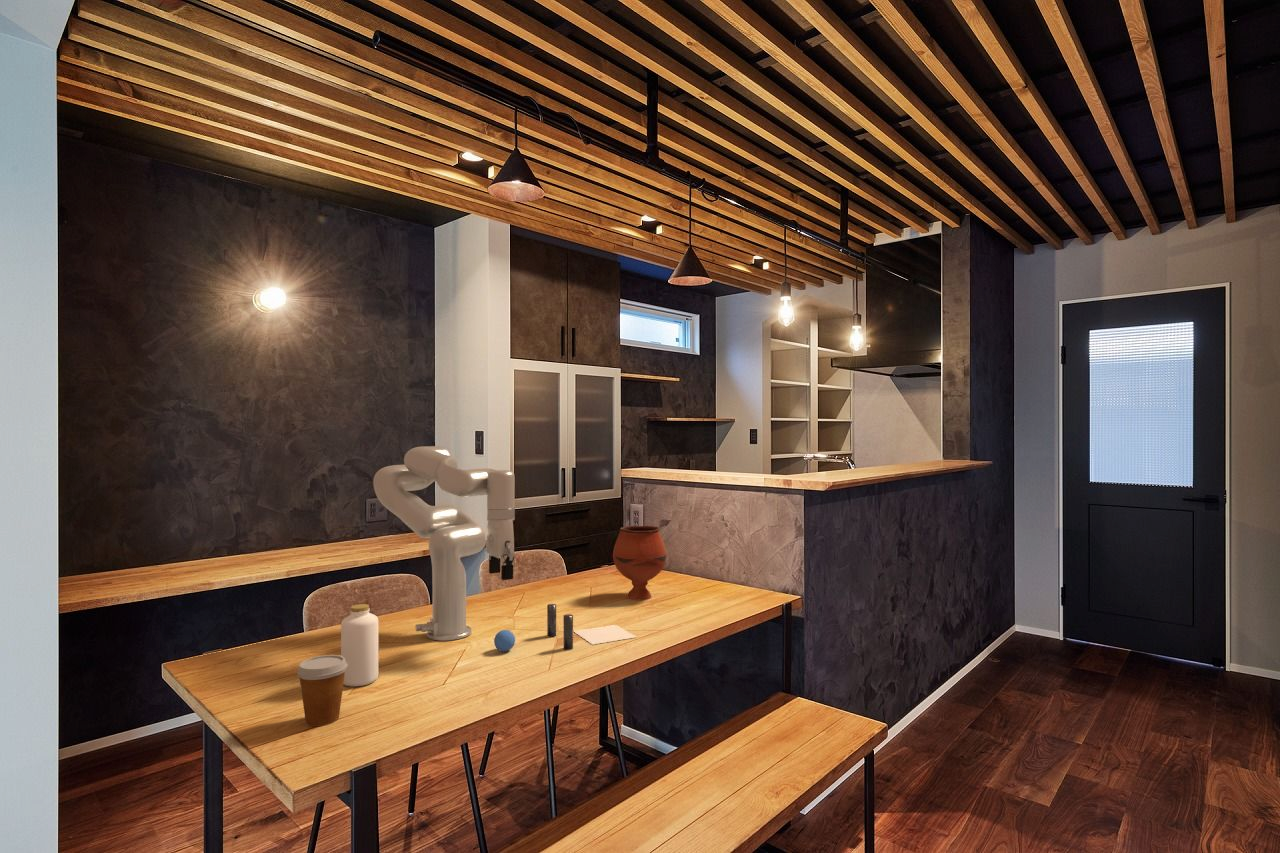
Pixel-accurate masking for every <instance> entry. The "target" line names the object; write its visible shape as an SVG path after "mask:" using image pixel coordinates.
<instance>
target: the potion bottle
mask: <svg viewBox="0 0 1280 853" xmlns="http://www.w3.org/2000/svg"><path fill="white" fill-rule="evenodd" d="M370 610H371V609H370V604H366V603H363V604H362V603H361V604H360V603H359V604H353V605H351V606H350V611H349V613H350V614H349V615H347V616H346V617H345V618H343V619H342V620H341V622H340V656H343V657H344V658H345V661H346V663H347V664H348V666H347V668H346V670H345V675H344V683H343V686H346V687H351V688H354V687H364V686H368V685H370V684H372V683H374V682H375V681H376V680H377V679H378V677H379V618H378V616H377V615H375V614H373V613H371V612H370Z"/></svg>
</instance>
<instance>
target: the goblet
mask: <svg viewBox="0 0 1280 853" xmlns="http://www.w3.org/2000/svg"><path fill="white" fill-rule="evenodd" d="M666 549H667V548H666V546H665V543H664V540H663V538H662V534H661V532H660V527H658V526H654V525H653V526H652V525H634V526H633V525H628V526H623V527H620V528H619V534H618V535H617V538H616V541H615V544H614V546H613V550H612V560H613V563H614V566H615V568H616V569H617V570H618V572H619V573H620V574H621V575H622V576H624V577H625V578H626V579H628V580H630V581H631V585H632V586H633V587H632V589H630V590H629V591H628V593H627V594H626V597H627V599H629V600H636V601H644V600H649V599H651V598H652V594H651V592H650V590H648V588H647V585H649V581H650V580H652V579H654V578H656V576H658V575H659V573H661V572H662V570H663V569H664V567H665V565H666V562H667V550H666Z"/></svg>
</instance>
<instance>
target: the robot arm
mask: <svg viewBox="0 0 1280 853" xmlns="http://www.w3.org/2000/svg"><path fill="white" fill-rule="evenodd" d="M403 463H404V464H393V465H388V466H385V467H384V466H383V468H382V467H381V468H380V469H379V470H378V471H377V472H376V473H375V474H374V476H373V490H374V494H375V495H376V498H377V499H378V501H379V502H380V503H381V505H382V506H383V507H385V509H386V510H388V511H389V512H391V513H392V514H393V515H395V516H396V517H397V518H399V520H401V522H402V523H403V524H405V525H406V526H407V527H408V528H409V529H410V530H411V531H412V532H414V533H415V534H416V535H417V536H418V537H420V538H421V539H427V540H428V539H429V540H428V550H429V554H430V555H429V556H430V559H431V560H430V561H431V569H432V570H431V573H432V574H431V576H432V583H431V584H432V618H430V619H429V621H427V622H426V623H419V624H415V632H422V633H426V638H428V639H430V640H435V641H445V642H446V641H455V640H459V639H463V638H466V637H469V635H471V634H472V627H470V626H469V625H467V573H466V572H467V571H466V569H465V566H464V565H463V562H462V560H461V558H464V557H468V556H472V555H475V554H478V553H479V552H481V551H483V549H484V548H485V552H486V554H488V573H489V574H498V573H499V574H500V573H501V580H502V581H508V580H513V579H514V560H515V536H514V534H515V533H514V523H513V522H514V521H515V518H516V517H515V515H516V514H515V513H516V512H515V507H516V506H515V504H516V503H515V499H516V498H515V496H516V492H515V489H516V488H515V485H516V484H515V483H516V482H515V481H516V479H515V476H516V475H515V473H514V471H512V470H507V469H506V470H504V469H502V470H501V469H500V470H499V469H498V470H497V469H493V468H475V469H473V468H472V469H461V468H458V462H457V459H455V457H453V456H452V454H451V453H450V451H449V450H448V449H447V448H445V447H443V446H440V445H435V446H434V445H432V446H431V445H429V446H428V445H427V446H426V445H425V446H417V447H413V448H411V449H409V450H408V451H407V452H406V453H405V455H404V458H403ZM434 482H436V484H437V485H438V487H439V488H440V490H442V491H444V492H446V493H448V494H451V495H454V496H456V497H460V498H461V497H462V498H469V497H475V496H477V497H479V496H486V499H487V501H486V505H487V506H486V510H487V511H486V519H487V520H486V521H487V525H486V527H487V529H486V534H485V532H484V530H483V528H482V527H481V526H480V525H479V524H478V523H477V522H476V521H475V520H474V519H472V518H471V517H470V516H469V515H467V514H466V513H465V512H464V511H463V510H462V509H461V508H459V507H457V506H454V505H453V504H444V505H443V504H442V505H441V504H440V505H429V504H428V503H426V502H425V501H424V500H423V499H422V498H420V496H418V495H417V494H414V493H412V492H413V491H420V490H424V489H426V488H428V487H429V486H430V485H431V484H433V483H434ZM485 546H486V547H485ZM501 562H502V564H501Z"/></svg>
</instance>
